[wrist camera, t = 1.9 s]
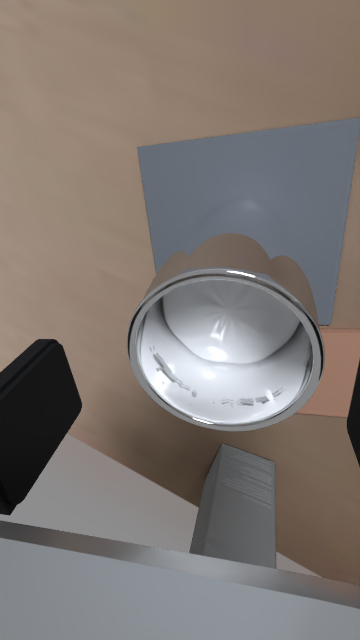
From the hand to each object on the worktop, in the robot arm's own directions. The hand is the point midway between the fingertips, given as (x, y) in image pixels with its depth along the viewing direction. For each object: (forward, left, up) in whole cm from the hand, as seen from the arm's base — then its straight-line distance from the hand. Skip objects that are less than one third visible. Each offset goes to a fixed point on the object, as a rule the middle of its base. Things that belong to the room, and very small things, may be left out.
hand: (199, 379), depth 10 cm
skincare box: (0, +27, -16) cm, 31 cm away
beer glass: (-1, 0, -16) cm, 16 cm away
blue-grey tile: (-1, 0, -16) cm, 16 cm away
